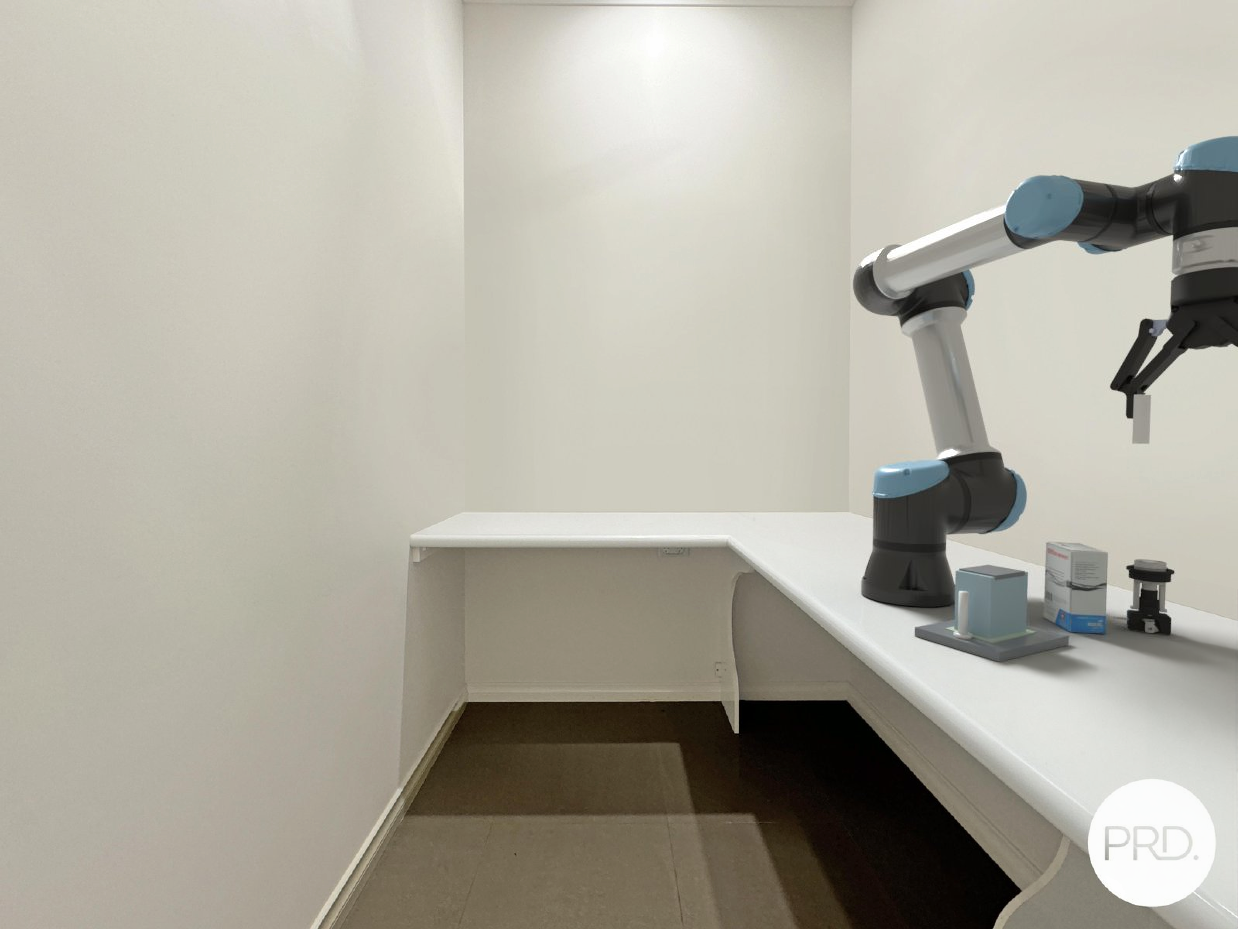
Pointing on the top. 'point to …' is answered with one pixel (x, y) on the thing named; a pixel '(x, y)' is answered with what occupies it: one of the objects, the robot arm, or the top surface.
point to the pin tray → (985, 647)
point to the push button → (1148, 597)
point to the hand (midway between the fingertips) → (1204, 444)
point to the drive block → (993, 600)
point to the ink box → (1076, 587)
